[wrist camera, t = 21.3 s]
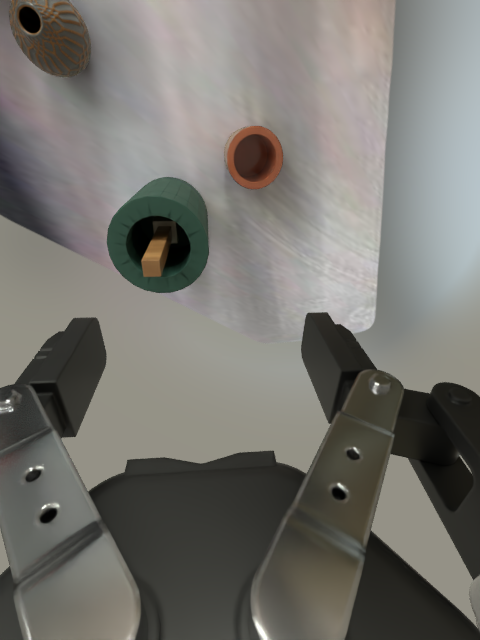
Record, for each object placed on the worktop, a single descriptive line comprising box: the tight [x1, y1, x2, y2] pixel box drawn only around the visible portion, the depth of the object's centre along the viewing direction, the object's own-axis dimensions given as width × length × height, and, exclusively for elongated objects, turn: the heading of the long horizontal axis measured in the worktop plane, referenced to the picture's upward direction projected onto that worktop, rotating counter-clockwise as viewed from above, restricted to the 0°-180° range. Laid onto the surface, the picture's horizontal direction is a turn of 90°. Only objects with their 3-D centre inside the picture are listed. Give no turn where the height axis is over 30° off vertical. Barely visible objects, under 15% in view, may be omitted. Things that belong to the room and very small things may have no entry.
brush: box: [141, 216, 181, 277], centre depth 37 cm, size 3×3×20 cm
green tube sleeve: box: [107, 177, 209, 293], centre depth 40 cm, size 10×10×15 cm
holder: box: [224, 126, 283, 189], centre depth 40 cm, size 7×7×7 cm
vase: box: [9, 0, 91, 77], centre depth 32 cm, size 7×7×9 cm
